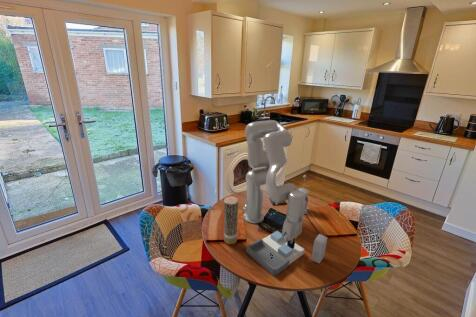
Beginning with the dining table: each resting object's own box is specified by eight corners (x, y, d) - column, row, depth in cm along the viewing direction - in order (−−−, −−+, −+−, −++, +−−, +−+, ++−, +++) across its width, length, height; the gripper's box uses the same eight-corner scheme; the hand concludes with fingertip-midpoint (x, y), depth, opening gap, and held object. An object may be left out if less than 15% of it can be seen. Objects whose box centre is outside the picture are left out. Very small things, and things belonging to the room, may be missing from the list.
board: (261, 244, 128) (261, 239, 126) (276, 235, 135) (277, 230, 134) (288, 265, 115) (288, 260, 114) (303, 253, 122) (304, 249, 121)
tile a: (277, 252, 118) (278, 248, 117) (284, 247, 121) (284, 243, 120) (285, 258, 115) (286, 254, 114) (292, 253, 118) (292, 249, 117)
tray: (246, 252, 122) (246, 246, 121) (260, 243, 128) (260, 238, 127) (274, 276, 108) (274, 270, 107) (288, 266, 114) (289, 260, 113)
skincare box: (315, 252, 123) (319, 233, 118) (324, 256, 120) (328, 237, 116) (310, 259, 118) (314, 239, 114) (319, 264, 116) (323, 243, 111)
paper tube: (239, 239, 131) (240, 198, 122) (232, 246, 125) (233, 205, 116) (228, 234, 134) (229, 195, 125) (221, 242, 128) (221, 200, 119)
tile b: (270, 238, 128) (270, 234, 127) (276, 234, 131) (277, 230, 130) (277, 243, 124) (277, 239, 123) (284, 239, 127) (284, 235, 126)
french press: (309, 214, 154) (315, 179, 144) (291, 214, 154) (295, 178, 145) (306, 206, 163) (311, 172, 154) (288, 205, 163) (292, 171, 154)
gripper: (297, 207, 121) (293, 237, 127) (277, 218, 112) (274, 249, 118) (310, 214, 115) (305, 245, 122) (290, 226, 106) (286, 259, 113)
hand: (290, 247), depth 120 cm, fingers closed
